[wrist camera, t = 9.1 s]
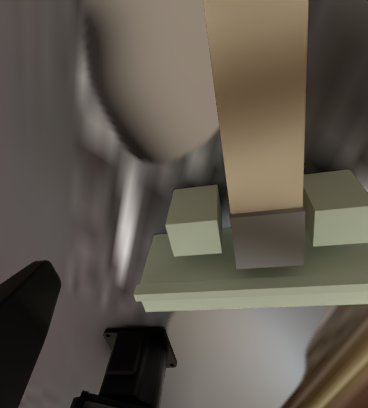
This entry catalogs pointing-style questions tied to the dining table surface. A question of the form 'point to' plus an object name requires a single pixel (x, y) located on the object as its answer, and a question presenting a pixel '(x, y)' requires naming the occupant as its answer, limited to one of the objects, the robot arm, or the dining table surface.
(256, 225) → the rail
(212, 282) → the grey block
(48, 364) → the dining table surface
